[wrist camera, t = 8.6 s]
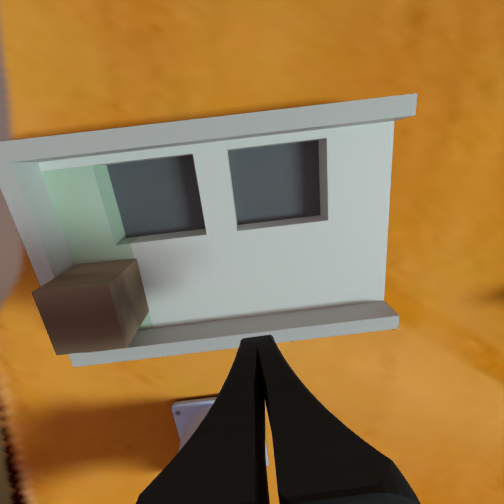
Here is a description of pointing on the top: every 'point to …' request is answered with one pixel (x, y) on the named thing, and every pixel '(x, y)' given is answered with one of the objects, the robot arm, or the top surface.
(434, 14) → the top surface
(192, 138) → the tray
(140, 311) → the walnut block
